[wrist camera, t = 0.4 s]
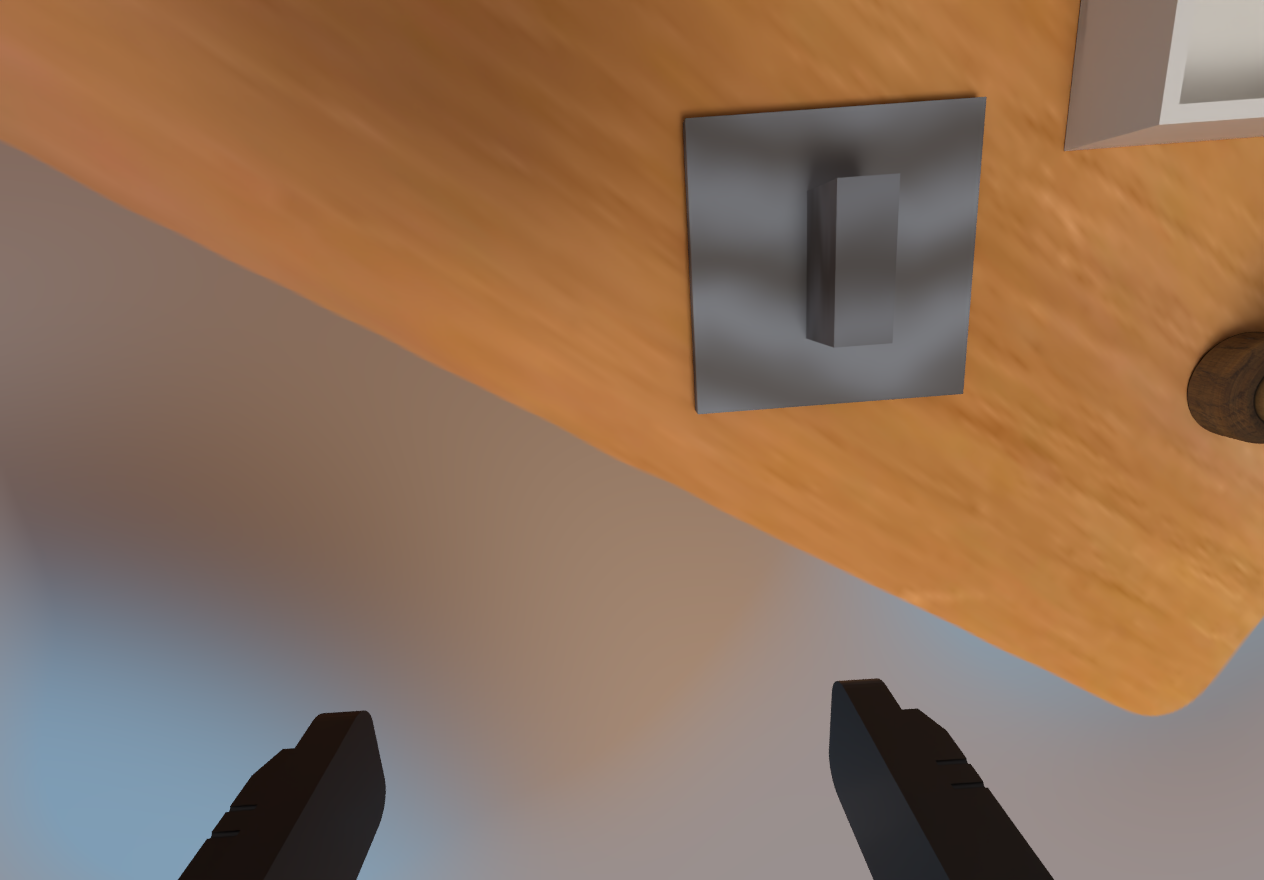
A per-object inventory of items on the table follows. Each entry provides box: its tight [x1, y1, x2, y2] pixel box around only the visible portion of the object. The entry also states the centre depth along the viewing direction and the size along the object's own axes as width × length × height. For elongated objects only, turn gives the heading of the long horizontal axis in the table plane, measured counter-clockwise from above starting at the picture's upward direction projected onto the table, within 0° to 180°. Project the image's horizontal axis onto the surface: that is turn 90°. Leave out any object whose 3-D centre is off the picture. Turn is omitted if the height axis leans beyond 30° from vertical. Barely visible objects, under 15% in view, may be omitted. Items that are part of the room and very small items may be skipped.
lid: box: [683, 97, 986, 414], centre depth 32 cm, size 16×16×6 cm
